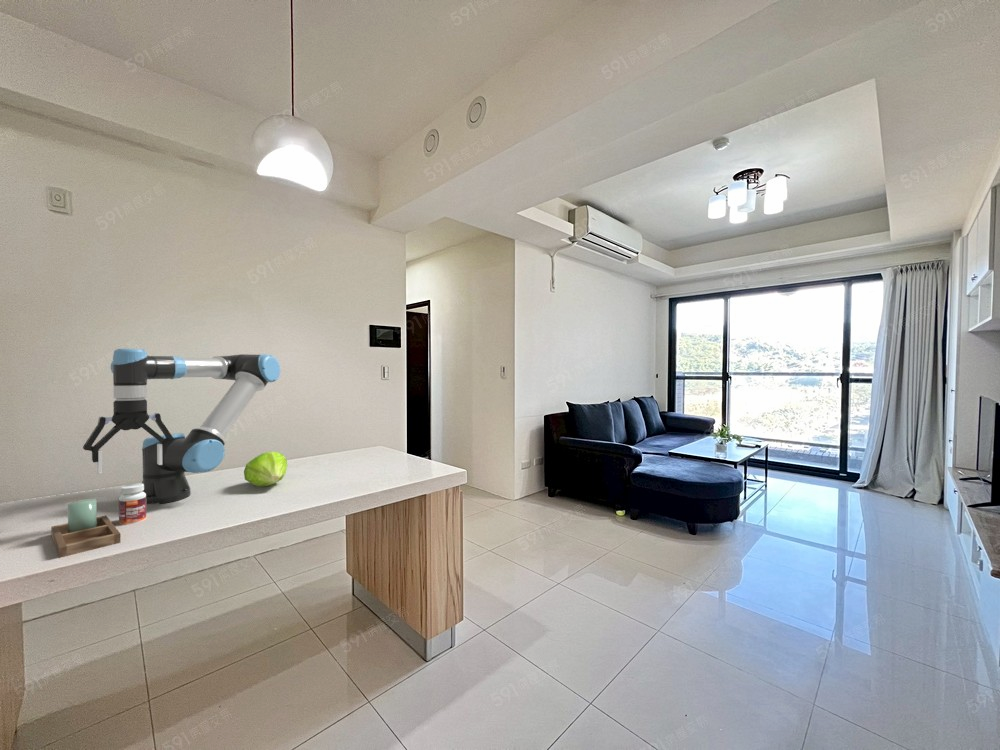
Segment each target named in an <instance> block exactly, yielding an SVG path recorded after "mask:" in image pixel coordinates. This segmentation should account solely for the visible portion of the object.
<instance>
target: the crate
mask: <svg viewBox="0 0 1000 750" xmlns="http://www.w3.org/2000/svg"><path fill="white" fill-rule="evenodd" d="M50 527H51V528H50V531H51V532H50V533H51V534H50V535H51V539H52V540H53V541H52V542H53V544H54V546H55V548H56V551H57V555H58V557H59V559H60V558H65V557H68V556H72V555H73V556H74V555H76V554H80V553H84V552H88V551H94V550H97V549H100V548H105V547H108V546H112V545H113V546H114V545H116V544H120V543H121V532H120V531H119V530H118V528H117V527H116V526H115V525H114V523H112V521H111V519H110V518H109V517H108V516H107V515H102V516H97V527H95V528H90V529H85V530H81V531H76V532H72V533H68V522H67V523H63V524H58V525H52V526H50Z"/></svg>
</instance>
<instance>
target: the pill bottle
mask: <svg viewBox="0 0 1000 750" xmlns="http://www.w3.org/2000/svg"><path fill="white" fill-rule="evenodd" d="M141 483H142V482H141ZM141 483H131V484H127V485H123V486H121V492H120V493H121V495H120V496H119V499H118V524H119V525H130V524H132V525H133V524H137V523H141V522H142V521H145V520H146V519H147V504H146V493H144V492H142V491H143V490H144V484H141Z"/></svg>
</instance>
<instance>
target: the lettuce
mask: <svg viewBox="0 0 1000 750" xmlns="http://www.w3.org/2000/svg"><path fill="white" fill-rule="evenodd" d="M287 461H288V460H287V458H286V457H285V456H284V454H283V453H280V452H278V451H269V452H264V453H261V454H259V455H256V456H255V457H254V458H252V459H251V460H250V461H249V462H247V463H246V464H245V466H244V470H243V476H244V480H245V481H247V482H249V483H250V484H252V485H254V486H256V487H260V488H261V487H267V486H272V485H274V484H275V483H278V482H279V481H281V480H283V479H284V477H285V475H286V473H287V470H288V469H287V468H288V462H287Z"/></svg>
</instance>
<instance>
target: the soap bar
mask: <svg viewBox="0 0 1000 750" xmlns="http://www.w3.org/2000/svg"><path fill="white" fill-rule="evenodd" d="M97 504H98V501H97V499H96V498H88V499H86V498H85V499H80V500H79V499H78V500H75V501H72V502H69V503H68V504H67V523H68V533H72V532H76V531H81V530H85V529H90V528H95V527H97V517H98V516H97V515H98V514H97V513H98V512H97V511H98V510H97V509H98V507H97Z"/></svg>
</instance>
